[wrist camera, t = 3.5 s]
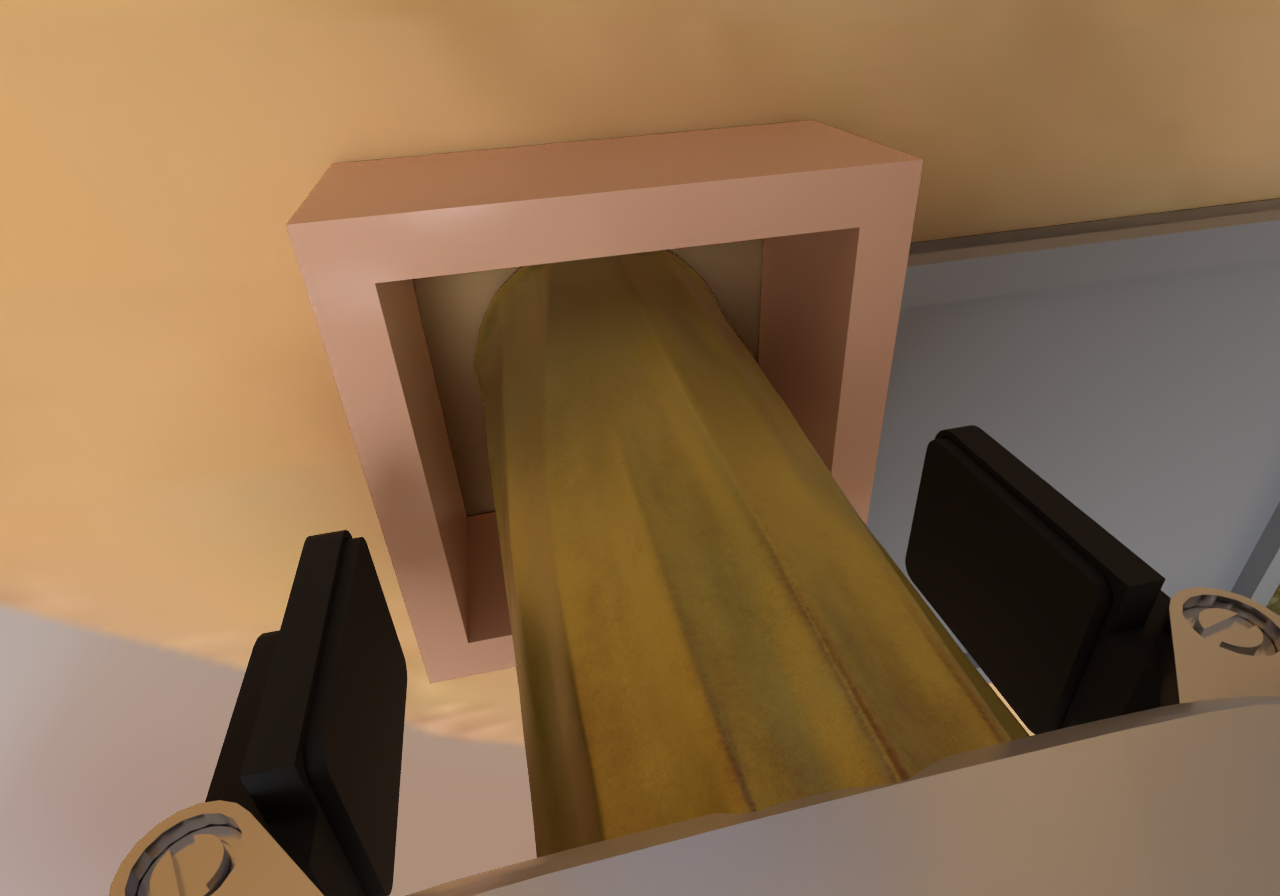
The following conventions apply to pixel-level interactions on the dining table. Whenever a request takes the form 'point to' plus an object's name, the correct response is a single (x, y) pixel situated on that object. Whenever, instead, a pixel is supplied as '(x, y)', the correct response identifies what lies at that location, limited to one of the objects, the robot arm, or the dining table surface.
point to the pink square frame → (582, 229)
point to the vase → (691, 570)
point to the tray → (1106, 382)
